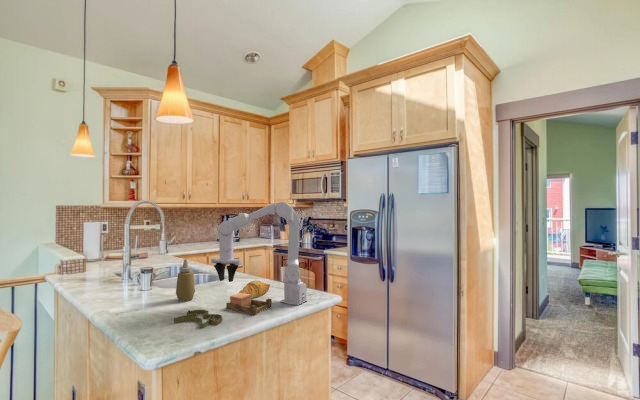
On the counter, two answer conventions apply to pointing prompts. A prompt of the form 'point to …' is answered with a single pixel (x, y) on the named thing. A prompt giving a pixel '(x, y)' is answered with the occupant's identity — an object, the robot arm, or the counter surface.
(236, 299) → the peach rectangular block
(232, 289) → the counter surface
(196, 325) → the counter surface
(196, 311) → the cookie cutter
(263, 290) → the croissant
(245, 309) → the brown wooden frame
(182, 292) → the squeeze bottle
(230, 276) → the robot arm
